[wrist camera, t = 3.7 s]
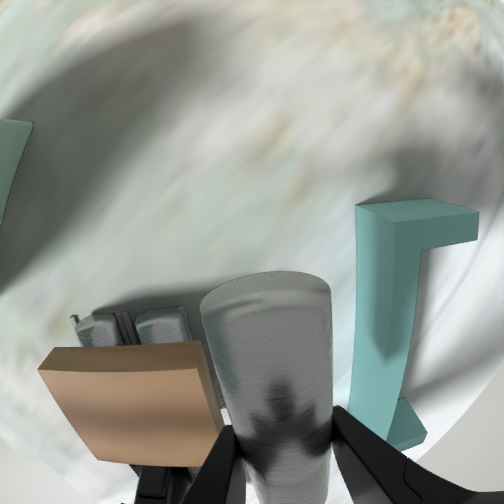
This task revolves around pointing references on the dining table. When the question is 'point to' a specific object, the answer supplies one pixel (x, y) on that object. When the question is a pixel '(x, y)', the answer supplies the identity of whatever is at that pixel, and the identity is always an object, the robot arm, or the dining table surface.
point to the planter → (11, 154)
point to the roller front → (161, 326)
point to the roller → (276, 378)
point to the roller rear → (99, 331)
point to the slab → (138, 401)
